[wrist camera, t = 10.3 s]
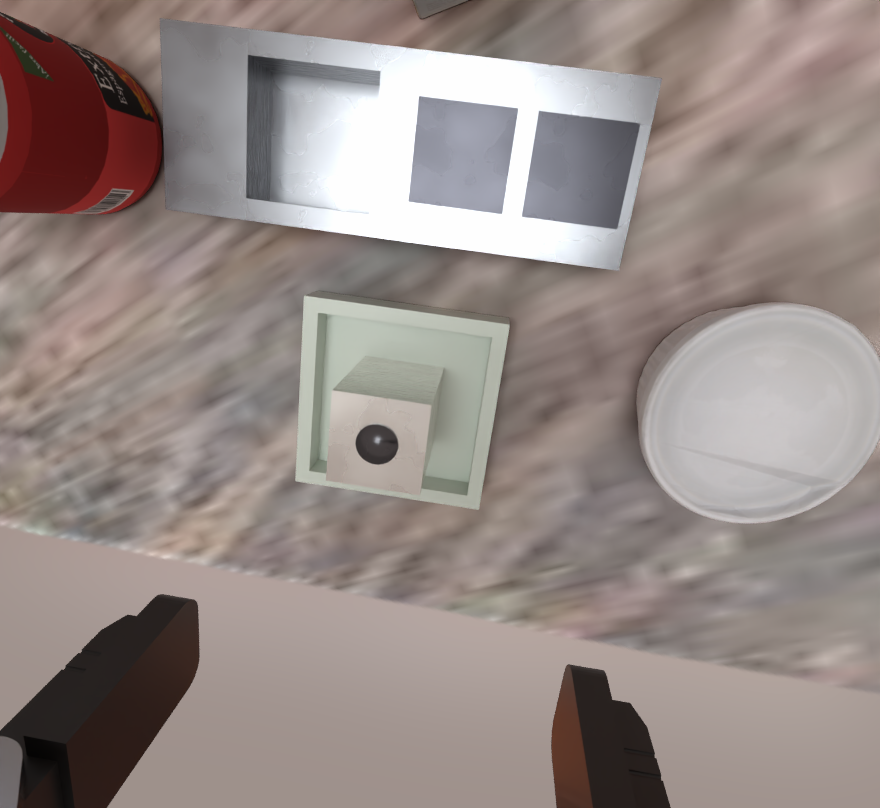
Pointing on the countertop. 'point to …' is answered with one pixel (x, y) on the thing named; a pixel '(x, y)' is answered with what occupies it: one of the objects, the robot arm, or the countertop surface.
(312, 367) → the parts tray
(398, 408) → the cube with dark knob
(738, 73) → the countertop surface
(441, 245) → the grey compartment tray
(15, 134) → the canned food
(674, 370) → the ramekin
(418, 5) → the small box
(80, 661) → the robot arm
